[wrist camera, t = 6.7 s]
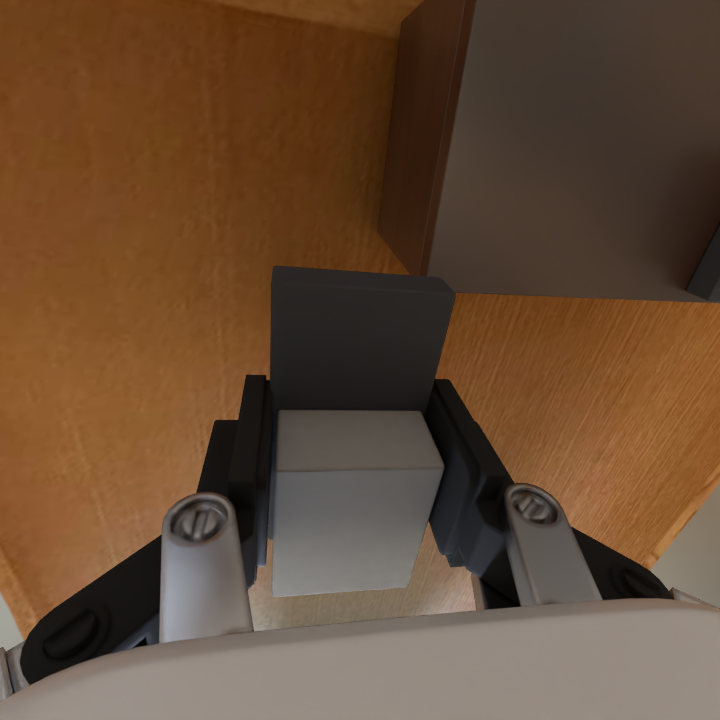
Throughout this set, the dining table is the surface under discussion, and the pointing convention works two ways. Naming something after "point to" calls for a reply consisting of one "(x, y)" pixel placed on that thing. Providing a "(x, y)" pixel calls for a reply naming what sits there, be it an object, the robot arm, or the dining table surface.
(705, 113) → the shoe rack
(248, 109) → the dining table surface
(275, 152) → the dining table surface
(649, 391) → the dining table surface
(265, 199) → the dining table surface
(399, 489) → the left slipper
